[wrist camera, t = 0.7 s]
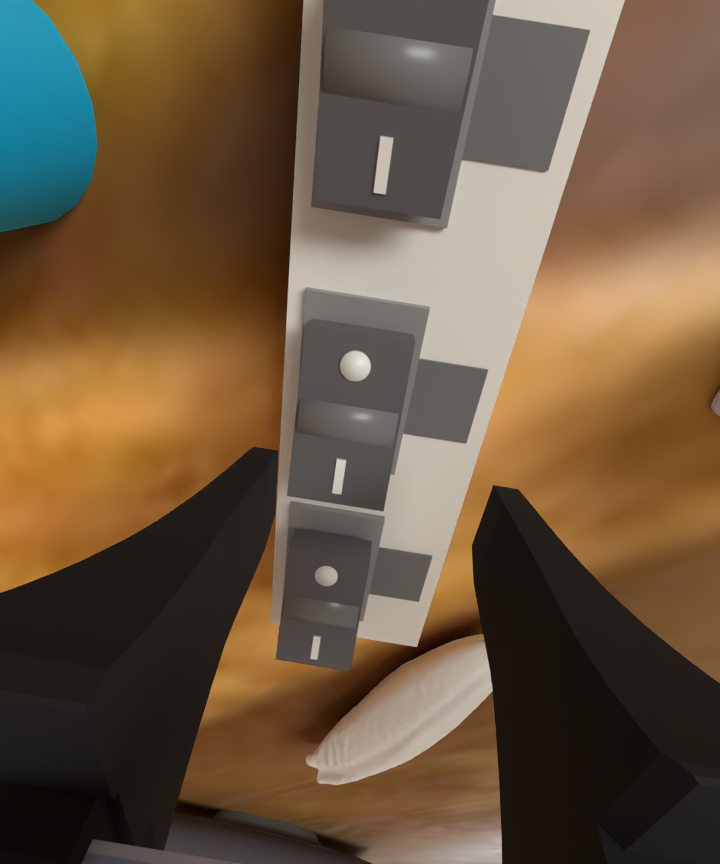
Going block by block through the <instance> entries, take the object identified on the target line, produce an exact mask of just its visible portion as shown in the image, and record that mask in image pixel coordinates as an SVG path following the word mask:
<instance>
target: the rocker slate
mask: <svg viewBox="0 0 720 864" xmlns="http://www.w3.org/2000/svg"><path fill="white" fill-rule="evenodd" d="M371 544H372V541H369V540H363V539H357V538H351V537H345V536H338V535H332V534H326V533H320V532H314V531H307V530H301V529H295V531H294V534H293V537H292V539H291V542H290V545H289V549H288V558H287V566H286V575H285V584H284V593H283V601H282V610H281V619H280V628H279V636H278V645H277V654H276V659H277V660H283V661H290V662H296V663H302V664H308V665H314V666H320V667H326V668H333V669H339V670H345V671H350V669H351V664H352V658H353V653H354V647H355V642H356V637H357V631H358V626H359V620H360V615H361V609H362V604H363V598H364V593H365V588H366V582H367V577H368V571H369V566H370V560H371Z"/></svg>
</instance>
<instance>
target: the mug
mask: <svg viewBox="0 0 720 864" xmlns="http://www.w3.org/2000/svg"><path fill="white" fill-rule="evenodd" d="M96 151H97V137H96V129H95V120H94V112H93V104H92V101H91V98H90V96H89V93H88V90H87V88H86V85H85V82H84V79H83V77H82V74H81V71H80V69H79V66H78V63H77V60H76V59H75V57H74V56H73V54H72V52H71V51H70V49H69V48H68V46H67V45H66V43H65V41H64V40H63V38H62V37H61V35H60V33H59V32H58V30H57V29H56V27H55V26H54V24H53V22H52V21H51V19H50V18H49V17H48V16H47V15H46V14H45V13H44V12H43V11H42V10H41V9H40V8H39V7H38V6H37V5H36V4H35V3H34V2H33V1H32V0H0V232H5V231H10V230H14V229H19V228H24V227H29V226H33V225H38V224H43V223H47V222H52V221H55V220H57V219H58V218H59V217H61V216H62V215H64V214H65V213H67V212H68V211H69V210H71V209H72V208H74V207H75V206H77V204H78V202H79V201H80V199H81V197H82V195H83V194H84V192H85V190H86V189H87V187H88V185H89V183H90V182H91V180H92V175H93V169H94V163H95V157H96Z"/></svg>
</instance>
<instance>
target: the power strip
mask: <svg viewBox="0 0 720 864" xmlns="http://www.w3.org/2000/svg"><path fill="white" fill-rule="evenodd" d="M624 1H625V0H489V3H488V7H487V12H486V16H485V21H484V25H483V30H482V34H481V39H480V43H479V48H478V52H477V57H476V61H475V66H474V70H473V75H472V79H471V84H470V88H469V93H468V97H467V102H466V106H465V111H464V115H463V120H462V124H461V129H460V133H459V138H458V142H457V147H456V151H455V156H454V160H453V165H452V169H451V174H450V178H449V183H448V187H447V192H446V196H445V201H444V205H443V210H442V214H441V219H434V218H427V217H421V216H415V215H408V214H402V213H396V212H389V211H383V210H377V209H370V208H364V207H358V206H351V205H345V204H339V203H332V202H326V201H319V200H315V183H316V160H317V136H318V113H319V90H320V67H321V44H322V21H323V0H304V2H303V20H302V39H301V58H300V77H299V96H298V114H297V133H296V152H295V171H294V190H293V208H292V227H291V246H290V265H289V284H288V302H287V321H286V340H285V359H284V378H283V396H282V415H281V434H280V453H279V471H278V490H277V509H276V528H275V547H274V565H273V584H272V603H271V622H270V623H271V624H278V625H280V619H281V610H282V601H283V593H284V584H285V575H286V566H287V558H288V549H289V545H290V542H291V539H292V537H293V534H294V531H295V529H301V530H307V531H314V532H320V533H326V534H332V535H338V536H345V537H351V538H357V539H363V540H369V541H372V544H371V560H370V566H369V571H368V577H367V582H366V588H365V593H364V598H363V604H362V609H361V615H360V620H359V626H358V631H357V638H364V639H370V640H376V641H382V642H388V643H394V644H401V645H407V646H413V647H417V645H418V642H419V639H420V636H421V633H422V630H423V627H424V623H425V620H426V617H427V614H428V611H429V608H430V605H431V602H432V599H433V595H434V592H435V589H436V586H437V583H438V580H439V577H440V574H441V571H442V567H443V564H444V561H445V558H446V555H447V552H448V549H449V546H450V543H451V539H452V536H453V533H454V530H455V527H456V524H457V521H458V518H459V514H460V511H461V508H462V505H463V502H464V499H465V496H466V493H467V490H468V486H469V483H470V480H471V477H472V474H473V471H474V468H475V465H476V462H477V458H478V455H479V452H480V449H481V446H482V443H483V440H484V437H485V434H486V430H487V427H488V424H489V421H490V418H491V415H492V412H493V409H494V406H495V402H496V399H497V396H498V393H499V390H500V387H501V384H502V381H503V378H504V374H505V371H506V368H507V365H508V362H509V359H510V356H511V353H512V350H513V346H514V343H515V340H516V337H517V334H518V331H519V328H520V325H521V321H522V318H523V315H524V312H525V309H526V306H527V303H528V300H529V297H530V293H531V290H532V287H533V284H534V281H535V278H536V275H537V272H538V269H539V265H540V262H541V259H542V256H543V253H544V250H545V247H546V244H547V241H548V237H549V234H550V231H551V228H552V225H553V222H554V219H555V216H556V213H557V209H558V206H559V203H560V200H561V197H562V194H563V191H564V188H565V185H566V181H567V178H568V175H569V172H570V169H571V166H572V163H573V160H574V157H575V153H576V150H577V147H578V144H579V141H580V138H581V135H582V132H583V129H584V125H585V122H586V119H587V116H588V113H589V110H590V107H591V104H592V100H593V97H594V94H595V91H596V88H597V85H598V82H599V79H600V76H601V72H602V69H603V66H604V63H605V60H606V57H607V54H608V51H609V48H610V44H611V41H612V38H613V35H614V32H615V29H616V26H617V23H618V20H619V16H620V13H621V10H622V7H623V4H624ZM312 318H314V319H321V320H327V321H333V322H340V323H346V324H352V325H359V326H365V327H371V328H377V329H384V330H390V331H396V332H403V333H409V334H413V335H414V338H415V346H414V352H413V357H412V362H411V368H410V373H409V378H408V384H407V389H406V394H405V400H404V405H403V410H402V416H401V421H400V426H399V432H398V437H397V442H396V448H395V453H394V458H393V464H392V469H391V474H390V480H389V485H388V490H387V496H386V501H385V506H384V512H383V511H377V510H371V509H365V508H358V507H352V506H346V505H340V504H334V503H327V502H321V501H315V500H309V499H303V498H296V497H290V496H287V489H288V480H289V471H290V462H291V452H292V443H293V434H294V425H295V416H296V406H297V397H298V388H299V379H300V369H301V360H302V351H303V342H304V332H305V323H307V322H308V321H310V320H311V319H312Z"/></svg>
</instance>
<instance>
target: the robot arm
mask: <svg viewBox="0 0 720 864" xmlns="http://www.w3.org/2000/svg"><path fill="white" fill-rule="evenodd" d="M711 409H712V411H713V412H714V413H715V414H717V415H718V416H720V390H719V391H718V393H717V395H716V396H715V398H714V400H713V401H712V404H711ZM277 465H278V451H276V450H270V449H264V448H257V447H253V448H252V449H250V450H249V451H248V452H247V453H245V454H244V455H243V456H242V457H241V458H240V459H238V460H237V461H236V462H235V463H234V464H233V465H231V466H230V467H229V468H228V469H227V470H225V471H224V472H223V473H222V474H221V475H219V476H218V477H217V478H216V479H214V480H213V481H212V482H211V483H209V484H208V485H207V486H206V487H204V488H203V489H202V490H200V491H199V492H198V493H197V494H195V495H194V496H193V497H191V498H190V499H188V500H187V501H185V502H184V503H183V504H181V505H180V506H178V507H177V508H175V509H174V510H173V511H171V512H170V513H168V514H167V515H165V516H164V517H162V518H161V519H159V520H158V521H156V522H154V523H153V524H151V525H149V526H148V527H146V528H144V529H143V530H141V531H139V532H138V533H136V534H134V535H132V536H131V537H129V538H127V539H125V540H123V541H121V542H119V543H117V544H115V545H113V546H111V547H109V548H107V549H105V550H103V551H101V552H99V553H97V554H95V555H93V556H91V557H89V558H87V559H85V560H82V561H80V562H78V563H76V564H73V565H71V566H69V567H66V568H64V569H62V570H59V571H57V572H55V573H52V574H50V575H47V576H45V577H42V578H40V579H37V580H35V581H32V582H30V583H27V584H24V585H22V586H19V587H16V588H14V589H11V590H8V591H5V592H2V593H0V864H240V863H234V862H228V861H222V860H216V859H210V858H204V857H198V856H192V855H186V854H180V853H174V852H168V851H164V849H165V845H166V841H167V838H168V834H169V830H170V827H171V823H172V820H173V816H174V812H175V809H176V805H177V802H178V798H179V794H180V791H181V787H182V784H183V780H184V777H185V773H186V770H187V766H188V763H189V760H190V756H191V753H192V749H193V746H194V742H195V739H196V736H197V732H198V729H199V725H200V722H201V719H202V716H203V712H204V709H205V706H206V703H207V699H208V696H209V693H210V689H211V686H212V683H213V680H214V677H215V674H216V670H217V667H218V664H219V661H220V658H221V655H222V652H223V648H224V645H225V643H226V640H227V637H228V635H229V632H230V630H231V627H232V625H233V622H234V620H235V618H236V615H237V613H238V611H239V608H240V606H241V604H242V601H243V599H244V597H245V594H246V592H247V590H248V587H249V585H250V583H251V580H252V578H253V576H254V573H255V571H256V569H257V566H258V564H259V562H260V559H261V557H262V555H263V552H264V550H265V547H266V543H267V540H268V537H269V533H270V530H271V526H272V523H273V519H274V516H275V504H276V485H277ZM472 557H473V577H474V586H475V592H476V598H477V603H478V609H479V615H480V620H481V625H482V631H483V636H484V641H485V647H486V652H487V657H488V663H489V668H490V675H491V681H492V688H493V700H494V712H495V724H496V736H497V752H498V767H499V784H500V806H501V829H502V864H720V683H718V682H717V681H716V680H714V679H713V678H711V677H710V676H709V675H707V674H706V673H705V672H703V671H702V670H701V669H699V668H698V667H697V666H695V665H694V664H693V663H691V662H690V661H689V660H687V659H686V658H685V657H684V656H682V655H681V654H680V653H678V652H677V651H676V650H675V649H673V648H672V647H671V646H670V645H668V644H667V643H666V642H665V641H663V640H662V639H661V638H660V637H658V636H657V635H656V634H655V633H654V632H653V631H651V630H650V629H649V628H648V627H647V626H645V625H644V624H643V623H642V622H641V621H640V620H639V619H637V618H636V617H635V616H634V615H633V614H632V613H631V612H630V611H629V610H628V609H626V608H625V607H624V606H623V605H622V604H621V603H620V602H619V601H618V600H617V599H616V598H614V597H613V596H612V595H611V594H610V593H609V592H608V591H607V590H606V589H605V588H604V587H603V586H602V585H601V584H600V583H599V582H598V581H597V580H596V578H595V577H594V576H593V575H592V574H591V573H590V572H589V571H588V570H587V569H586V568H585V567H584V566H583V565H582V564H581V563H580V562H579V561H578V559H577V558H576V557H575V556H574V555H573V554H572V553H571V552H570V551H569V549H568V548H567V547H566V546H565V545H564V544H563V542H562V541H561V540H560V539H559V538H558V537H557V535H556V534H555V533H554V532H553V531H552V529H551V528H550V527H549V526H548V525H547V523H546V522H545V521H544V520H543V519H542V517H541V516H540V515H539V514H538V512H537V511H536V510H535V509H534V508H533V506H532V505H531V504H530V503H529V501H528V500H527V499H526V498H525V497H524V495H523V494H522V493H521V492H520V491H519V490H518V489H513V488H507V487H500V486H494V485H493V488H492V491H491V494H490V496H489V499H488V502H487V505H486V508H485V511H484V513H483V516H482V519H481V522H480V525H479V527H478V530H477V533H476V536H475V539H474V541H473V544H472Z"/></svg>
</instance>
